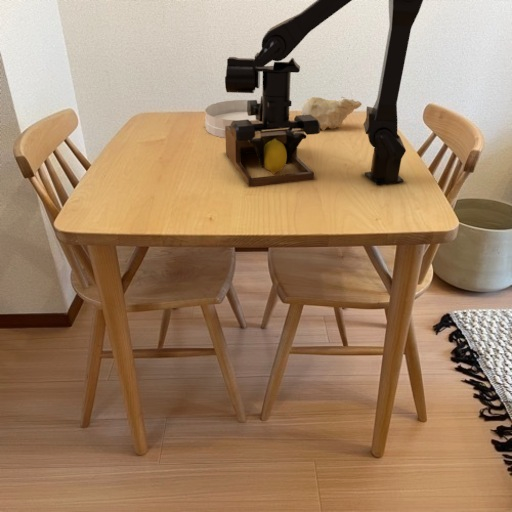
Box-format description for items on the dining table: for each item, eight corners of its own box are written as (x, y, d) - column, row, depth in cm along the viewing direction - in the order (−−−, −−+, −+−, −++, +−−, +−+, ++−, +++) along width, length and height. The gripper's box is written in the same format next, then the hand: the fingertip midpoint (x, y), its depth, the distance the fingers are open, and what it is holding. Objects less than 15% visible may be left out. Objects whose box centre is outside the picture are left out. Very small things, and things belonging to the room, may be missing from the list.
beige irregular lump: (289, 134, 138) (319, 111, 125) (288, 111, 140) (318, 85, 127) (332, 144, 145) (365, 123, 132) (331, 122, 147) (363, 99, 134)
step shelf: (313, 179, 106) (316, 148, 102) (248, 186, 102) (248, 155, 98) (282, 148, 123) (283, 121, 119) (225, 153, 119) (225, 125, 116)
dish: (213, 142, 126) (212, 123, 124) (199, 119, 144) (198, 102, 142) (292, 135, 131) (293, 117, 129) (269, 114, 150) (269, 97, 147)
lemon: (286, 169, 111) (288, 135, 106) (285, 178, 106) (286, 143, 102) (262, 168, 111) (263, 134, 107) (260, 177, 106) (261, 142, 102)
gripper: (304, 82, 108) (300, 149, 116) (223, 87, 103) (225, 156, 112) (323, 94, 99) (318, 165, 107) (236, 100, 94) (237, 174, 103)
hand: (274, 165), depth 107 cm, fingers closed on lemon, 5 cm apart
